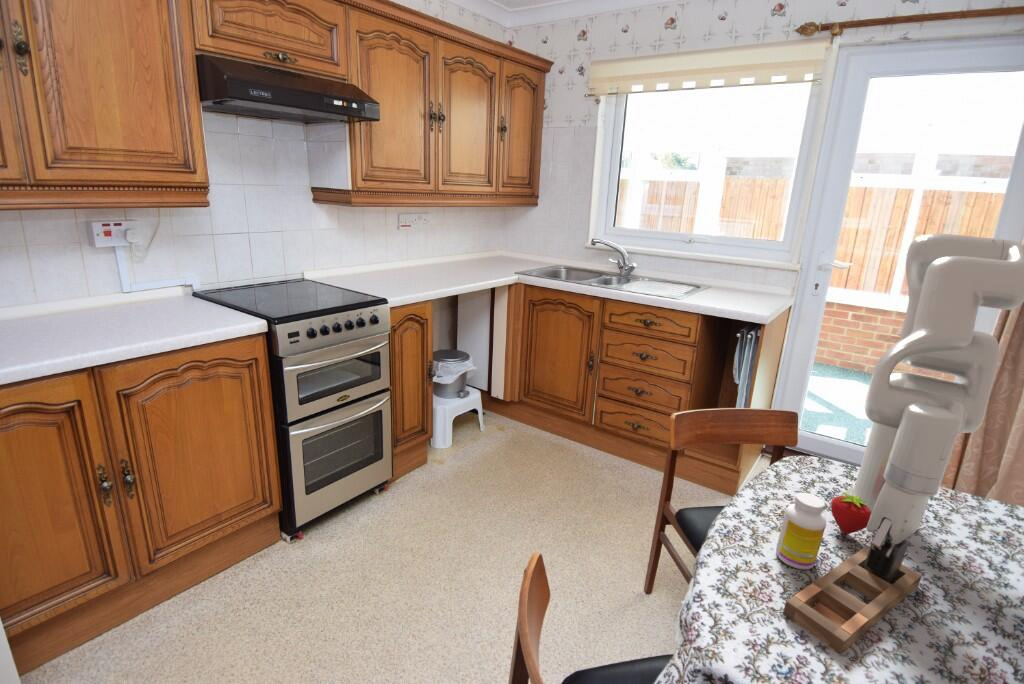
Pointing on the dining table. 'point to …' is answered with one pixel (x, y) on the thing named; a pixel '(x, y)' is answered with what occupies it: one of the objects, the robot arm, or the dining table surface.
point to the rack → (848, 601)
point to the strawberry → (850, 513)
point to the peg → (896, 562)
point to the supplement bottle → (802, 531)
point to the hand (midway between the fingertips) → (882, 565)
